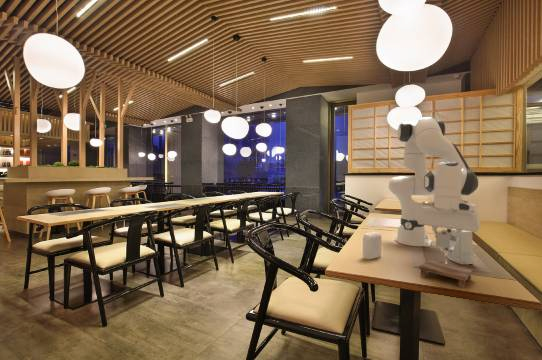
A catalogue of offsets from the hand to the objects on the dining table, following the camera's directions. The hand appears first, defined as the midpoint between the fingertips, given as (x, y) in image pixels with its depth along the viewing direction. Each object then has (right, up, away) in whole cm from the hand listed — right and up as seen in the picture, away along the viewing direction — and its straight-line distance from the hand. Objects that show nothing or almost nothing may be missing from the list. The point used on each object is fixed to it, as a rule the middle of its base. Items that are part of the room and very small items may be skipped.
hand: (446, 239), depth 103 cm
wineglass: (+10, -15, +16) cm, 24 cm away
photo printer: (-19, -14, +25) cm, 35 cm away
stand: (0, -15, 0) cm, 15 cm away
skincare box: (+20, -15, +20) cm, 32 cm away
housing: (0, -2, 0) cm, 2 cm away
